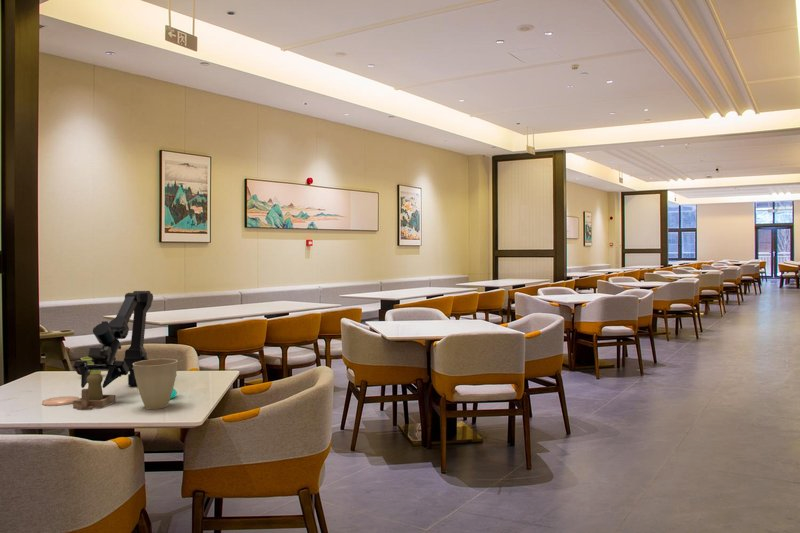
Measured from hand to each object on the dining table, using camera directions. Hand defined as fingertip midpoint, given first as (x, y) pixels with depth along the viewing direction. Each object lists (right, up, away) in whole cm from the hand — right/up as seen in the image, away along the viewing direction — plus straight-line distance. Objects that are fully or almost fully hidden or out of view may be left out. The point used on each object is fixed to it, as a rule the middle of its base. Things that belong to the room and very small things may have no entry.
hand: (92, 387), depth 224 cm
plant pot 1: (-27, -6, +55) cm, 62 cm away
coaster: (-15, -7, +6) cm, 17 cm away
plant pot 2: (+23, -7, -2) cm, 25 cm away
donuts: (+20, -7, +12) cm, 25 cm away
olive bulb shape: (0, -7, +1) cm, 7 cm away
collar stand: (0, -7, 0) cm, 7 cm away
